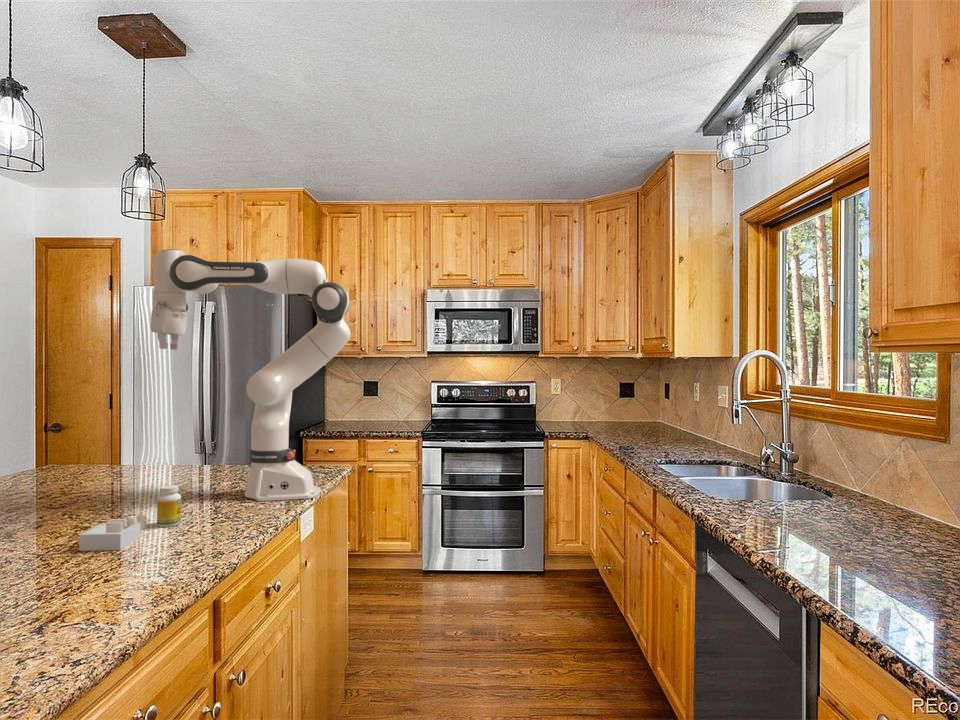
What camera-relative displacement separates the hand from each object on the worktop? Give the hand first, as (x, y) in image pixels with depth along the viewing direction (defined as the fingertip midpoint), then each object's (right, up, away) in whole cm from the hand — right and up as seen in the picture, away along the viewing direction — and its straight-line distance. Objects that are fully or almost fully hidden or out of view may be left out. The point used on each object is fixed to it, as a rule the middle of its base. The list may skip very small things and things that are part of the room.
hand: (168, 349), depth 169 cm
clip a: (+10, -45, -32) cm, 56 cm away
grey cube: (+7, -45, -36) cm, 58 cm away
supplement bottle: (+16, -45, -28) cm, 55 cm away
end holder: (+11, -45, -43) cm, 63 cm away
